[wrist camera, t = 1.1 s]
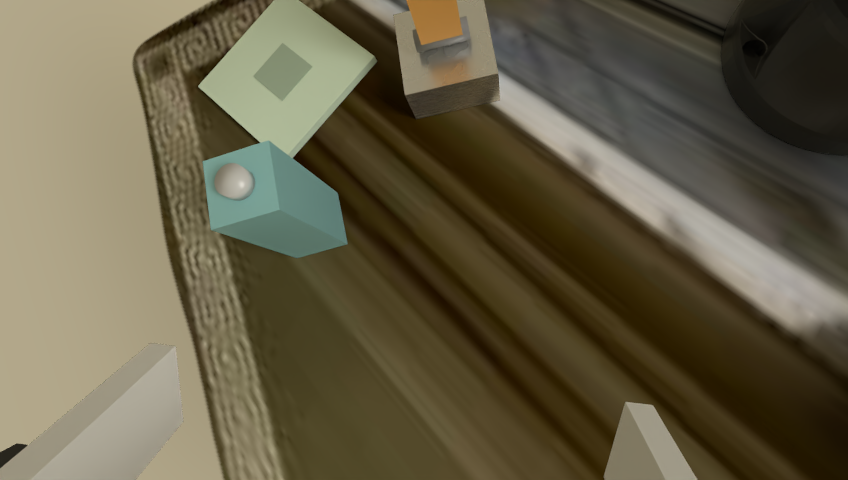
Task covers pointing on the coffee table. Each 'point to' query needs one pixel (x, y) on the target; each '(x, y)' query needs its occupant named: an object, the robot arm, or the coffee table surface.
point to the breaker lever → (437, 24)
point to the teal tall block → (272, 202)
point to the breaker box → (449, 66)
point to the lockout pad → (287, 75)
